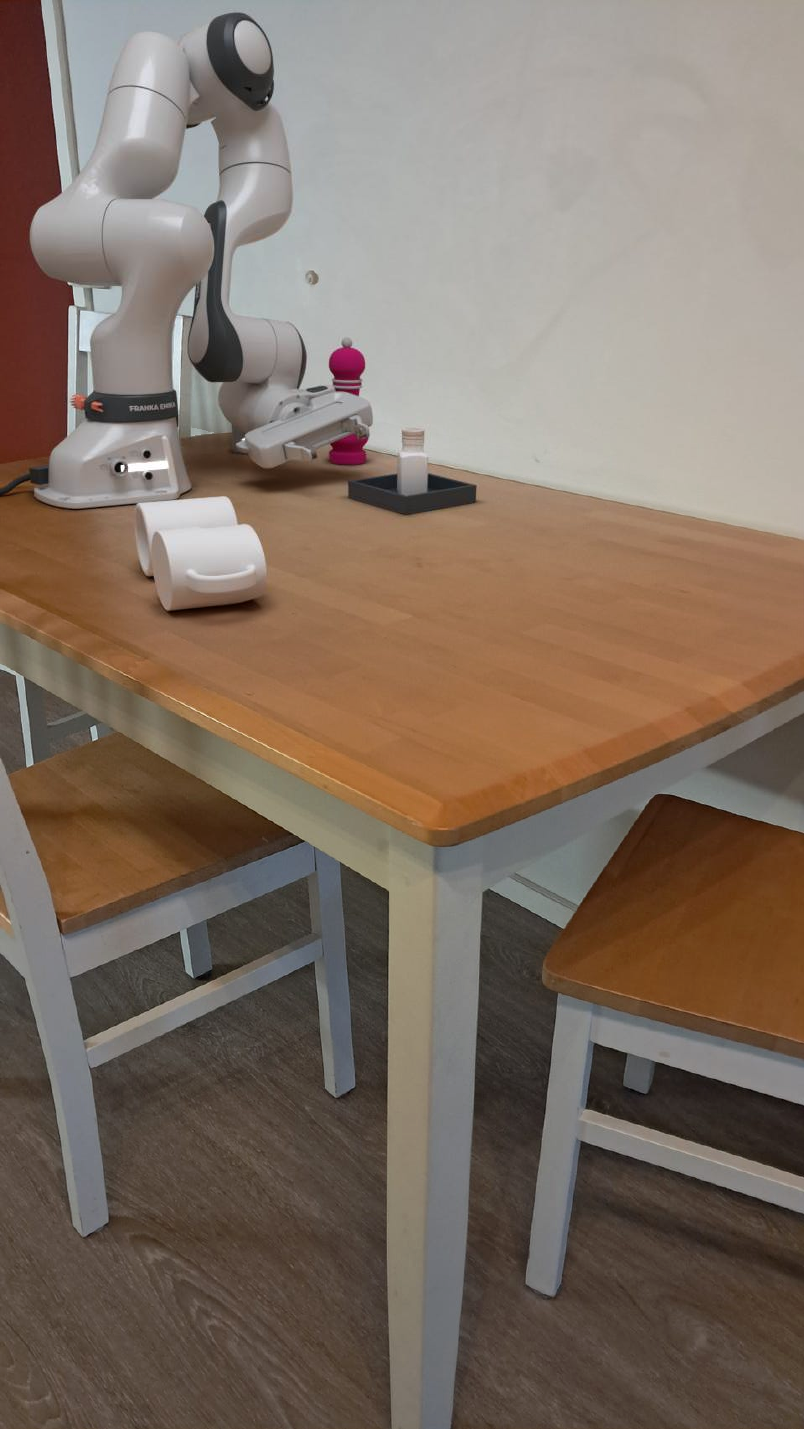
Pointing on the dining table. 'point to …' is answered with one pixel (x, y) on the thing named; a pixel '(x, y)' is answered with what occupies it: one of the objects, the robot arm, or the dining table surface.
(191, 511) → the mug
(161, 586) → the mug
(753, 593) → the dining table surface
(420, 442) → the pepper shaker
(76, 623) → the dining table surface
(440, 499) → the spice tray
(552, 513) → the dining table surface
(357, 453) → the pepper mill
